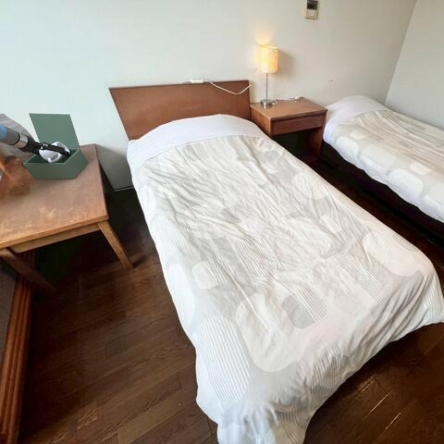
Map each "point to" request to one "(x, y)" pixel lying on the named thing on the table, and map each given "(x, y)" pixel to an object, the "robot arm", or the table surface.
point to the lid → (55, 129)
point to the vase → (16, 126)
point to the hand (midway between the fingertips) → (55, 154)
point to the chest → (57, 166)
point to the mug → (53, 153)
